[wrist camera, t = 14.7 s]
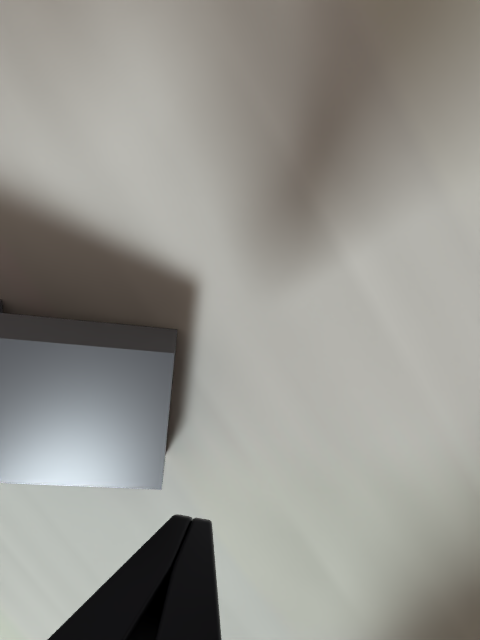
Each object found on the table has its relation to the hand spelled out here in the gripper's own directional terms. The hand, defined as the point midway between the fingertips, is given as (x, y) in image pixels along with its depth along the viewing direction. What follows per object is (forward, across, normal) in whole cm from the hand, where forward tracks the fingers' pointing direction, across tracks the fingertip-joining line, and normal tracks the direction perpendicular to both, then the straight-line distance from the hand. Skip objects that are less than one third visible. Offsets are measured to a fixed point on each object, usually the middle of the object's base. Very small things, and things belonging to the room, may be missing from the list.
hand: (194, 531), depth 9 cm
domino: (+4, +2, 0) cm, 5 cm away
